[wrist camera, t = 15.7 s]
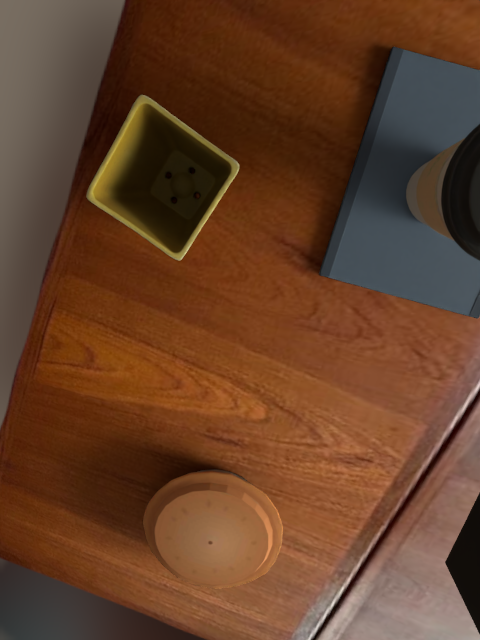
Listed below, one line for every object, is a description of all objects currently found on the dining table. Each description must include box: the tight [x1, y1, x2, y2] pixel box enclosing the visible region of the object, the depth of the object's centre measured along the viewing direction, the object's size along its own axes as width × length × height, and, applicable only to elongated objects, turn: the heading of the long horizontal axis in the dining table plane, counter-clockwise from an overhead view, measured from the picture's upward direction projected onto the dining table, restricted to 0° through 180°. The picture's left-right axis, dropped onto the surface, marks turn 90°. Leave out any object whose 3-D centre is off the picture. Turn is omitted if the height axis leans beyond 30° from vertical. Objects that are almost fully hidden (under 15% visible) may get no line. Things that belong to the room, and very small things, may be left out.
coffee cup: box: [406, 124, 480, 261], centre depth 30 cm, size 9×9×15 cm
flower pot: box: [87, 95, 239, 260], centre depth 35 cm, size 9×9×9 cm
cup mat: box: [319, 47, 480, 318], centre depth 38 cm, size 20×16×1 cm
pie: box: [143, 469, 283, 589], centre depth 47 cm, size 16×16×5 cm
